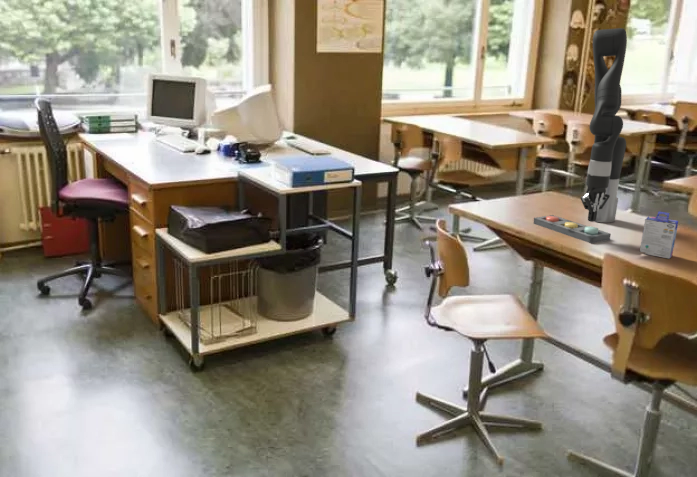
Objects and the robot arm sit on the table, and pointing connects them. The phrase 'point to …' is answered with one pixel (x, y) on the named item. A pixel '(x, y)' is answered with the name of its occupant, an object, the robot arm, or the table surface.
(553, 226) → the button panel
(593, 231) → the teal button
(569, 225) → the ochre button
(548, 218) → the red button
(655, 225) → the ink cartridge box
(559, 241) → the table surface
